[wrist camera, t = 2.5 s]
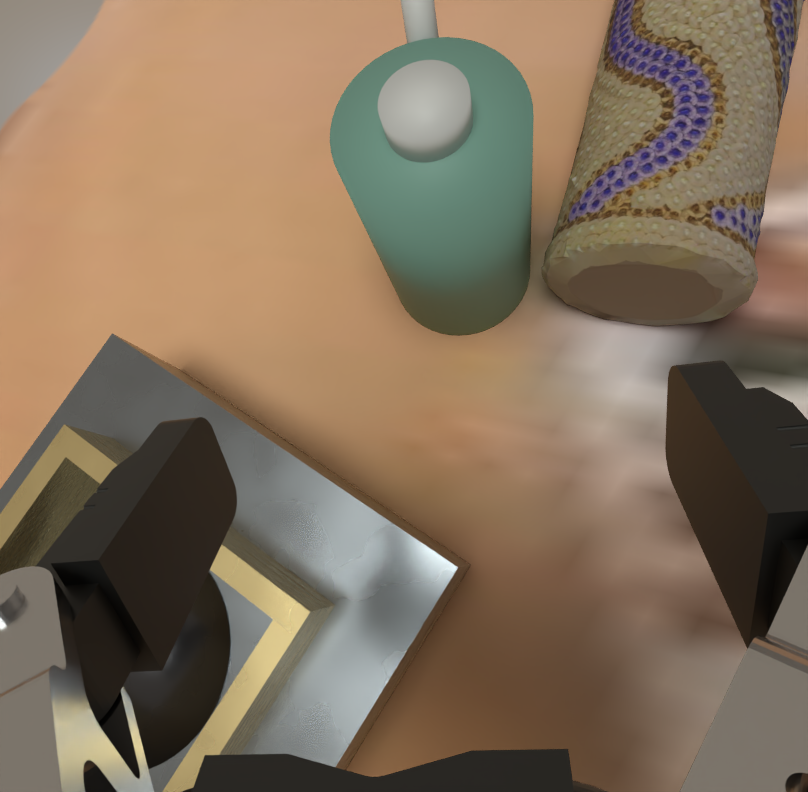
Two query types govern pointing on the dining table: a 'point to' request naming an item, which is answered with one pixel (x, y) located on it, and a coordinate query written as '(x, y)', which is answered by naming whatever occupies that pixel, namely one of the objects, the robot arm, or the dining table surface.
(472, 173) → the oil can
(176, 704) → the grey metal block
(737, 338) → the dining table surface
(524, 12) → the dining table surface
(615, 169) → the decorative bottle
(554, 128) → the dining table surface
